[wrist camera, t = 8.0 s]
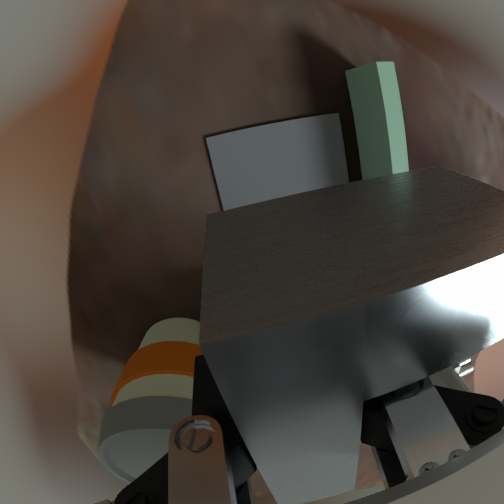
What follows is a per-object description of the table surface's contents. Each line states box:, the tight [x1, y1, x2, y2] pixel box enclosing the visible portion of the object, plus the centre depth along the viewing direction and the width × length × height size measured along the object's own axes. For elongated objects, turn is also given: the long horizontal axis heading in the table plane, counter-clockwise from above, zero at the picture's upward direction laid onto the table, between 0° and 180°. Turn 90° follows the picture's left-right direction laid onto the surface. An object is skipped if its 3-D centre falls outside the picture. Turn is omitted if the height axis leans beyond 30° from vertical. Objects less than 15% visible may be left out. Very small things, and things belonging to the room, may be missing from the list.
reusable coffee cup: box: [99, 318, 203, 484], centre depth 27 cm, size 13×13×15 cm
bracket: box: [199, 166, 504, 504], centre depth 9 cm, size 8×8×6 cm
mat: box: [206, 113, 349, 211], centre depth 27 cm, size 12×11×1 cm
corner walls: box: [345, 62, 409, 180], centre depth 25 cm, size 16×20×6 cm
